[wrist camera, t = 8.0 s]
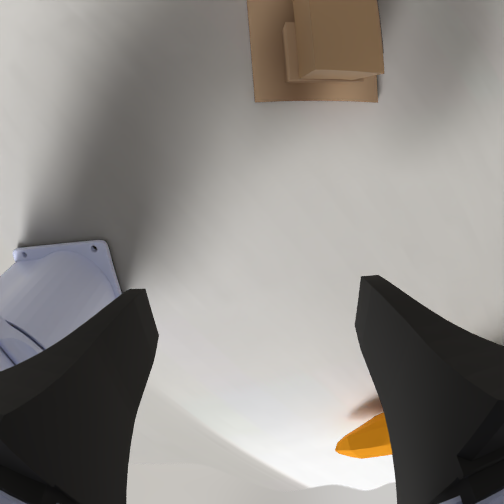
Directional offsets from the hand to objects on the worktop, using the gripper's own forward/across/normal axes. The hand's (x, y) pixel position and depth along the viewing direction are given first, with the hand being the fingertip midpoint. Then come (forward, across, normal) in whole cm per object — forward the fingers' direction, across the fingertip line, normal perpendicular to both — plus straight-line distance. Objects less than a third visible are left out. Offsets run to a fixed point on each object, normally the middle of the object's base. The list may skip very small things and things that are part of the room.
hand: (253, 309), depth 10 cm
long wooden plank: (+7, -4, -14) cm, 16 cm away
